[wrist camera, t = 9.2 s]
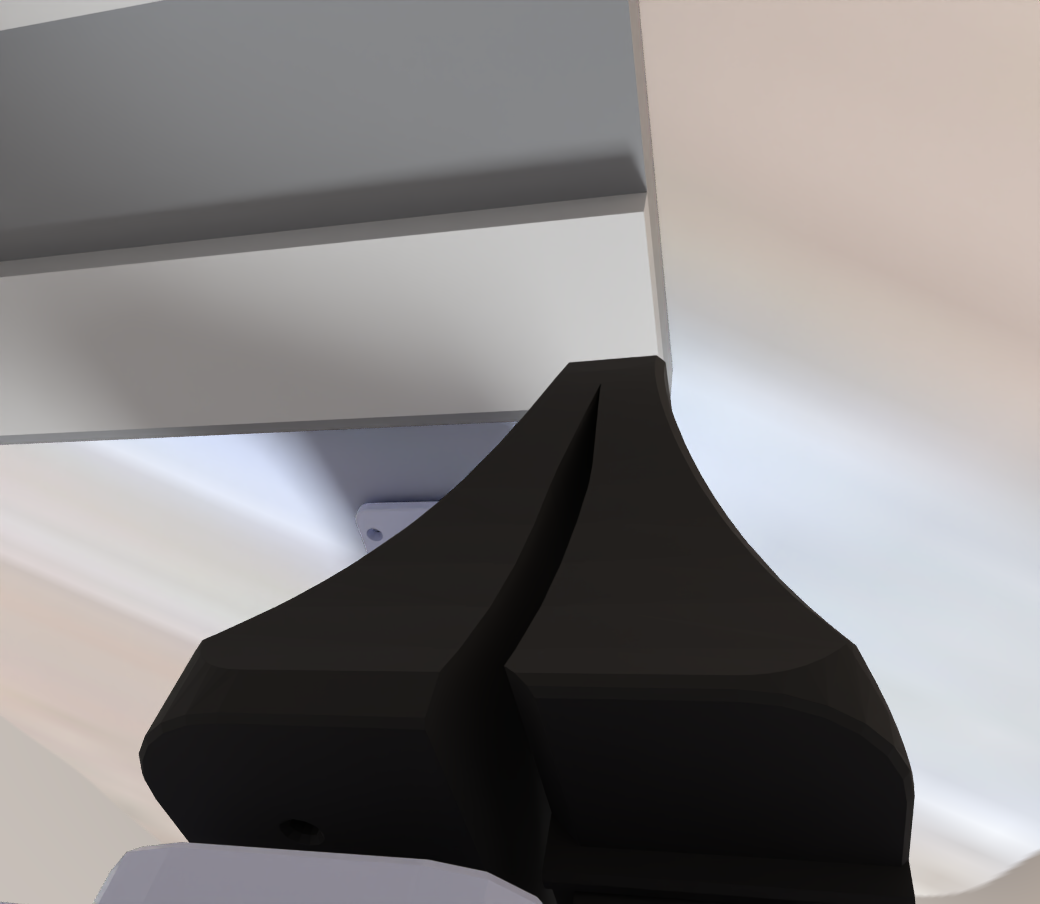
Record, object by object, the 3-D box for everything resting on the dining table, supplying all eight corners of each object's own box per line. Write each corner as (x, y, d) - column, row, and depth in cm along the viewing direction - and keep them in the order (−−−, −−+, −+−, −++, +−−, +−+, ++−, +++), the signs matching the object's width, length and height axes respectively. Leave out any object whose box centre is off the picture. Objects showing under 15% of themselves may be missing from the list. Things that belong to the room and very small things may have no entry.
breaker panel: (672, 369, 23) (666, 441, 20) (-79, 412, 29) (-152, 472, 26) (589, -527, 13) (560, -588, 11) (-495, -188, 19) (-667, -180, 17)
